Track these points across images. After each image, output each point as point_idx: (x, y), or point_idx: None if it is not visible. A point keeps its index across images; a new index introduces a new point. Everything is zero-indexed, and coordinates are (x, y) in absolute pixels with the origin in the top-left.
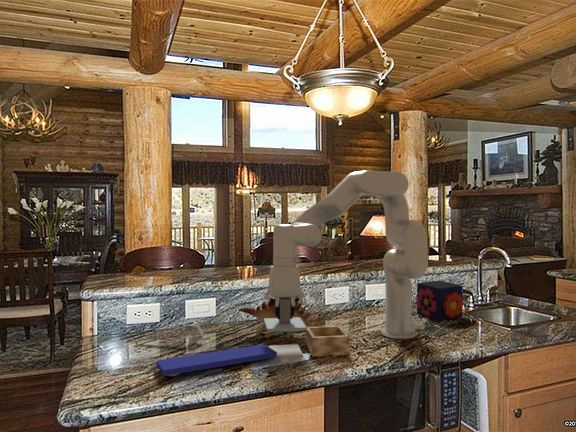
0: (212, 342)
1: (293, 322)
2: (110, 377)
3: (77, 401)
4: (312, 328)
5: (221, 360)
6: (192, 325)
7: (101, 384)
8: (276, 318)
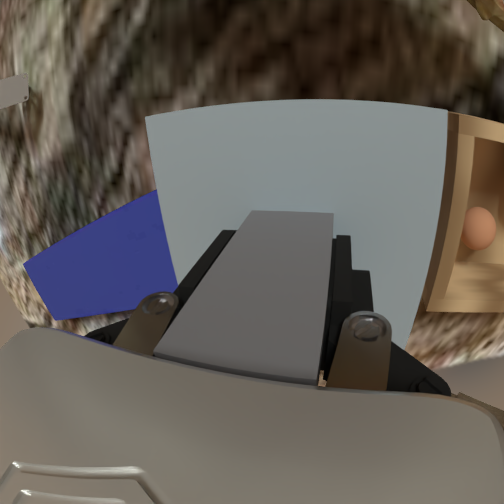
0: (58, 72)
1: (361, 253)
2: (13, 272)
3: (33, 326)
4: (490, 138)
5: (116, 309)
6: None
7: (19, 291)
8: (236, 116)
